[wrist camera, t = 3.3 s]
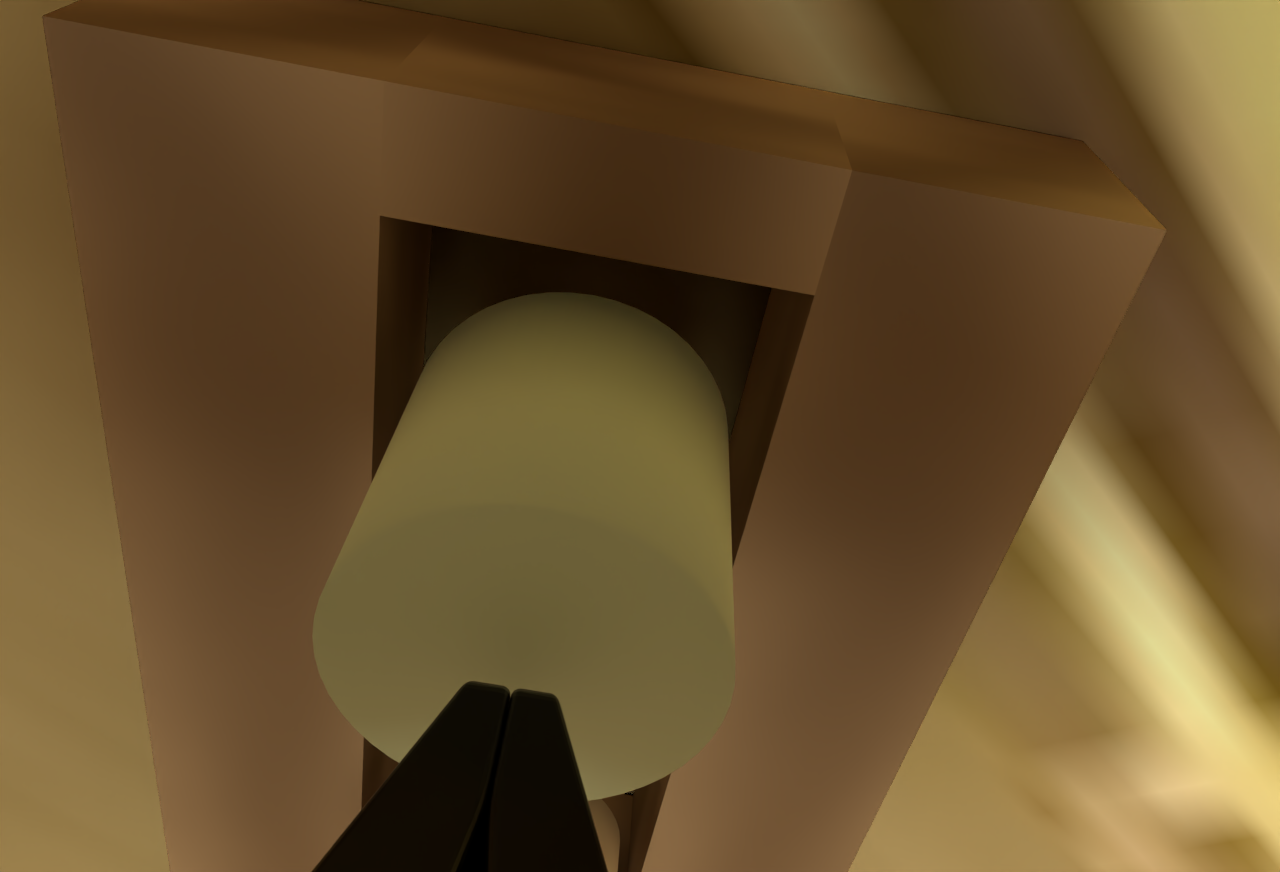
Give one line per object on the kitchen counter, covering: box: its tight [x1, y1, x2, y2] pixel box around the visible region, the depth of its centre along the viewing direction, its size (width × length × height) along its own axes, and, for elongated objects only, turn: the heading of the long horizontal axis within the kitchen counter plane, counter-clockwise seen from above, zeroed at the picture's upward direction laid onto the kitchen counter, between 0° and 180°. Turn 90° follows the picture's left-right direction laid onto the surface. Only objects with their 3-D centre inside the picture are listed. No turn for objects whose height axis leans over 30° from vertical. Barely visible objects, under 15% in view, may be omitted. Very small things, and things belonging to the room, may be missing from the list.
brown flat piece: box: [42, 0, 1167, 872], centre depth 19 cm, size 12×25×3 cm, turn 170°
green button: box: [312, 292, 736, 801], centre depth 11 cm, size 4×4×4 cm
